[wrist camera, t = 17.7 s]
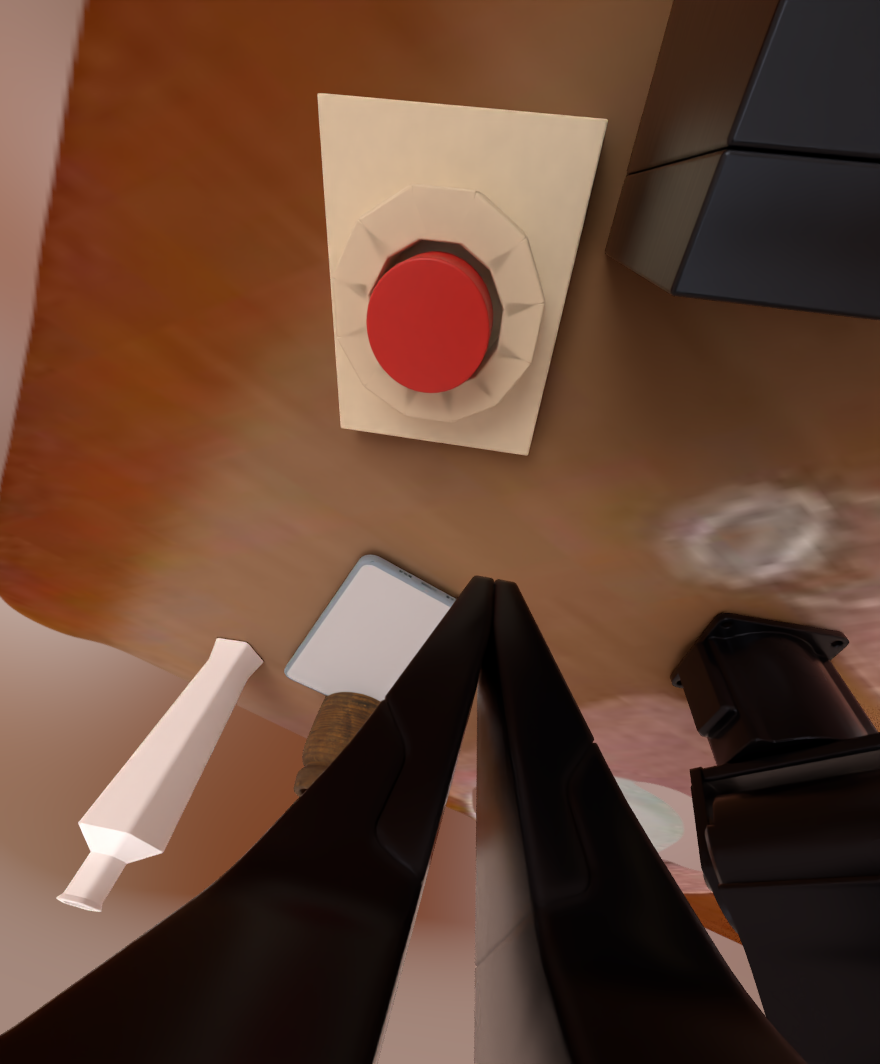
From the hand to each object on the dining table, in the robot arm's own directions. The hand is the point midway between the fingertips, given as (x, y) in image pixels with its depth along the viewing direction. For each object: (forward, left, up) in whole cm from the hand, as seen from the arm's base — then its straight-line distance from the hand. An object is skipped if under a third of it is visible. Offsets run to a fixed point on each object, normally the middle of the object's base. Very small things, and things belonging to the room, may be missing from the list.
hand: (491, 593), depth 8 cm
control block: (+3, -3, -11) cm, 12 cm away
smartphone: (+6, +18, -11) cm, 22 cm away
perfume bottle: (+17, +23, -11) cm, 31 cm away
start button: (+3, -3, -9) cm, 10 cm away
